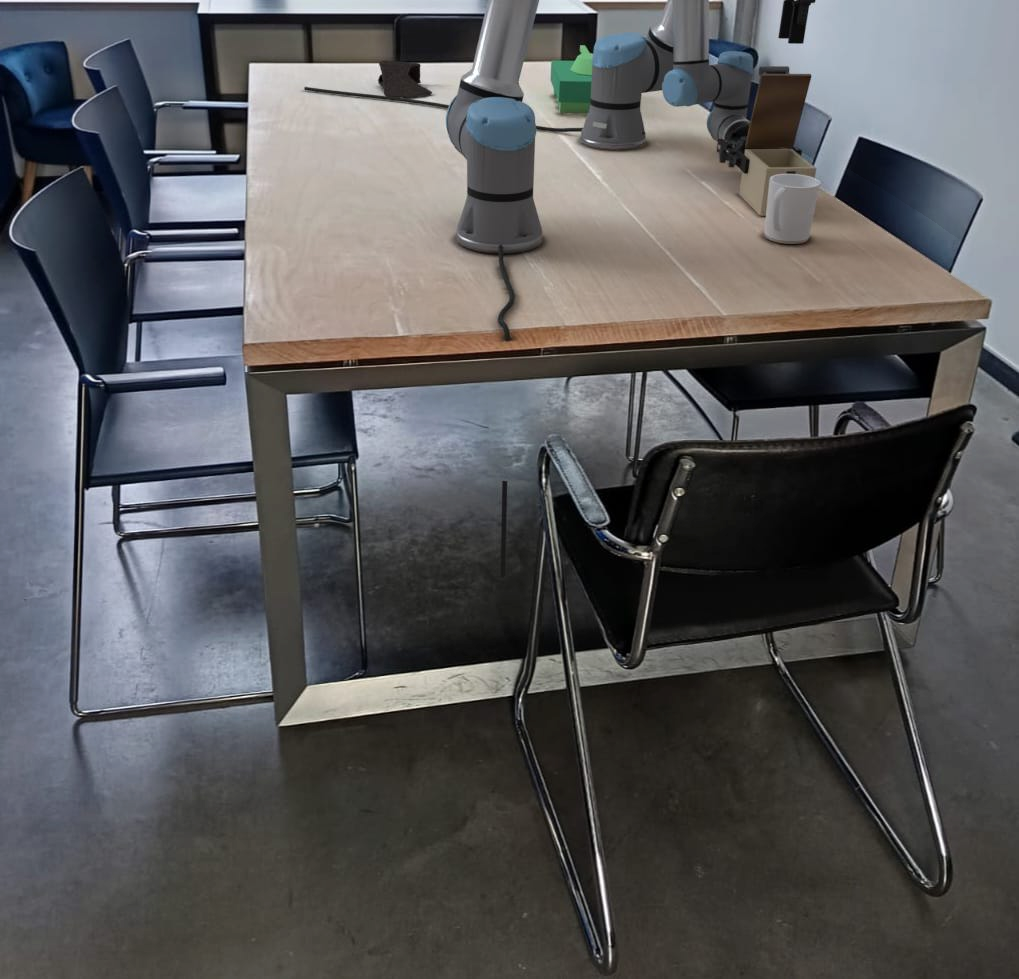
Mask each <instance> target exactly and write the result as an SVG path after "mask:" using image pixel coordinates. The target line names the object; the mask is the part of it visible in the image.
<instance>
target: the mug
mask: <svg viewBox="0 0 1019 979" xmlns="http://www.w3.org/2000/svg"><path fill="white" fill-rule="evenodd" d="M821 183H822V182H821V180H820V179H818V178H816V177H815V178H813V177H810V176H806V175H799V174H778V175H774V176H772V177H770V180H769V189H768V199H767V210H766V216H765V221H764V231H763V235H764V237H765V238H766V239H767V240H769V241H771V242H775V243H777V244H778V243H779V244H785V245H798V244H799V245H800V244H804V243H806V242H807V241H809V238H810V234H811V229H812V224H813V219H814V216H815V210H816V206H817V202H818V197H819V193H820V187H821Z"/></svg>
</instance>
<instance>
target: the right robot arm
mask: <svg viewBox="0 0 1019 979" xmlns="http://www.w3.org/2000/svg"><path fill="white" fill-rule="evenodd" d="M592 54H593V57H592V83H591V100H590V109H589V112H588V114H587V115H586V118H585V119H584V120H585V121H584V123H583V127H550V126H542V125H536V131H538V130H539V131H542V132H543V131H545V132H554V133H570V132H571V133H572V132H574V133H575V132H576V133H577V132H579V133H580V143H581V144H582V145H585V146H586V147H589V148H594V149H599V150H606V151H629V150H637V149H639V148H643V147H644V146H645V145H646V140H647V134H646V130H645V125H644V121H643V116H642V111H641V105H642V94H644V93H652V92H662V95H663V98H664V100H665V101H666V102H667V103H668V104H669V105H671V106H672V107H676V108H677V107H679V108H680V107H692V106H695V105H702V104H706V103H707V104H708V103H713V107H712V110H711V111H710V112H709V114H708V116H707V119H706V128H707V129H706V130H707V132H708V133H709V135H710V136H711V138H712V139H713V140H714V141H715V142H716V152H717V154H718V163H720V164H725V163H726V162H728V168H730V169H731V168H735V166H736V167H737V168H738V169H739V170H740V171H741V173H742V172H743V173H744V174H748V169H749V162H750V160H749V159H748V158H747V157H746V156H745V155H744V154H745V149H793V150H794V151H795V152H797V153H798V154H799V155H800V156H802V155H803V149H802V148H799V147H796V146H795V145H794V146H793V148H746V147H745V143H746V139H747V134H748V130H749V126H750V121H751V120H749V119H747V118H748V111H749V110H748V109H749V100H750V95H751V94H750V92H751V88H752V78H753V75H754V73H753V70H754V57H753V56H752V55H751V54H750V53H748V52H744V51H737V50H736V51H735V50H727V51H723V52H721V53H720V54H719V55H718V60H717V62H716V63H717V64H710V0H666V3H665V6H664V8H663V11H662V13H661V17H660V18H658V19H656V20H654V21H652V22H651V23H650V27H649V28H648V32H647V34H646V37H645V36H644V34H641V33H639V32H622V33H621V32H618V33H617V32H615V33H611V34H607V35H603V36H602V37H600V38H598V39H597V40H596V41H595V43H594V46H593V53H592ZM303 88H304V91H307V92H309V91H310V92H316V93H323V94H332V95H340V96H348V97H349V96H350V97H358V98H366V99H374V100H375V99H376V100H384V101H385V100H386V101H393V102H400V103H401V102H402V103H409V104H416V105H417V104H418V105H424V106H429V107H430V106H431V107H437V108H443V109H448V107H449V105H450V104H446V103H445V104H444V103H440V102H439V103H438V102H433V101H428V100H420V99H412V98H397V97H389V96H385V95H378V94H371V93H370V94H369V93H361V92H351V91H344V90H343V91H342V90H334V89H333V90H332V89H327V88H326V89H325V88H318V87H310V86H304V87H303Z"/></svg>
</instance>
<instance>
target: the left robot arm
mask: <svg viewBox="0 0 1019 979" xmlns="http://www.w3.org/2000/svg"><path fill="white" fill-rule="evenodd" d="M782 2H783V3H782V10H781V16H780V22H779V23H780V24H779V30H778V39H780V40H781V39H786V40H787V44H789V45H793V44H794V45H795V44H796V45H799V44H800V45H802V44H805V43H804V42H805V35H806V30H807V29H806V28H807V23H808V15H809V10H810V6H812V4H815V3H816V0H783V1H782ZM539 4H540V0H487V3H486V8H485V12H484V16H483V20H482V25H481V28H480V32H479V37H478V42H477V45H476V50H475V54H474V58H473V62H472V68H470V70H469V71H467V72H466V73H464V74H463V75H461V76H460V81H459V85H458V89H457V94H456V95H455V96H454V97H453V98H452V100H451V101H450V103H449V104H448V105H449V107H448V108H447V110H446V114H445V125H446V126H445V127H446V131H447V135H448V138H449V140H450V143H451V144H452V145H453V146H454V148H455V150H456V151H457V152H458V153H459V154H460V155H462V156H463V157H464V159H465V160H466V192H467V193H466V198H465V202H464V205H463V209H462V211H461V214H460V218H459V220H458V224H457V227H456V241H457V243H458V244H459V245H461V246H462V247H464V248H466V249H468V250H470V251H475V252H479V253H486V254H497V255H498V263H499V269H500V271H501V275H502V277H503V278H502V279H503V282H504V284H505V286H506V288H507V290H508V293H509V299H508V301H507V303H506V304H505V306H504V307H503V308H502V309H501V310H500V311H499V313H498V316H497V322H498V325H500V327H501V328H502V330H503V335H504V341H505V342H510V341H511V334H510V329H509V326H508V324H507V322H505V321H504V317H505V315H506V313H507V312H508V311H509V310H510V309H511V308H512V306H513V305H514V302H515V298H516V296H515V290H514V288H513V285H512V284H511V282H510V278H509V276H508V273H507V270H506V266H505V262H504V255H506V254H507V255H508V254H517V253H524V252H527V251H530V250H533V249H536V248H538V247H539V246H540V245H541V244H542V243H543V229H542V224H541V221H540V220H541V219H540V218H539V214H538V213H539V212H538V210H537V206H536V204H535V199H534V184H535V181H534V180H535V158H536V156H535V154H536V136H537V129H536V126H537V124H536V115H535V112H534V110H533V109H532V107H531V106H530V105H529V104H527V103H525V102H524V101H523V100H524V96H525V93H524V91H523V89H522V87H521V85H520V83H519V82H520V77H521V75H522V70H523V65H524V62H525V59H526V55H527V54H526V53H527V51H528V46H529V42H530V38H531V35H532V30H533V26H534V22H535V18H536V14H537V11H538V7H539ZM507 513H508V480H502V481H501V522H500V523H501V526H500V528H501V529H500V530H501V531H500V532H501V533H500V577H499V578H502V579H504V578H506V562H507V560H506V559H507V557H506V556H507V554H506V553H507V518H508V516H507Z"/></svg>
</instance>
